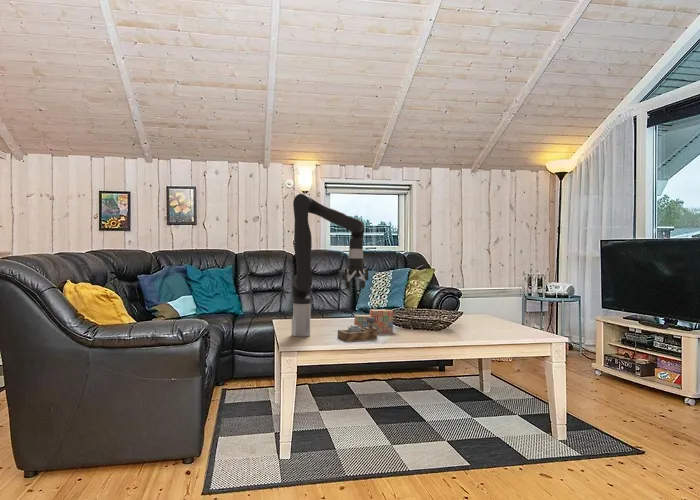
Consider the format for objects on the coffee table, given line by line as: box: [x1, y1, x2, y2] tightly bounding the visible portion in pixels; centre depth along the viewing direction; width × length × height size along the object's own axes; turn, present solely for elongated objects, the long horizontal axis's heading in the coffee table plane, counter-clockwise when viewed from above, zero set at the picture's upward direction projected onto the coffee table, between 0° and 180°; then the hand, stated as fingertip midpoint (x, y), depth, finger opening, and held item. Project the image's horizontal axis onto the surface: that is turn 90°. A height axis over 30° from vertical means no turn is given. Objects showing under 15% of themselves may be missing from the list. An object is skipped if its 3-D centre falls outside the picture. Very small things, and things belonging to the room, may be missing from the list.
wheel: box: [367, 317, 375, 323], centre depth 265 cm, size 5×5×2 cm
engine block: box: [347, 324, 361, 333], centre depth 260 cm, size 5×5×7 cm
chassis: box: [337, 322, 378, 342], centre depth 262 cm, size 19×10×8 cm, turn 118°
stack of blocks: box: [353, 309, 394, 333], centre depth 285 cm, size 21×6×12 cm, turn 105°
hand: (355, 288), depth 260 cm, fingers open, 8 cm apart
